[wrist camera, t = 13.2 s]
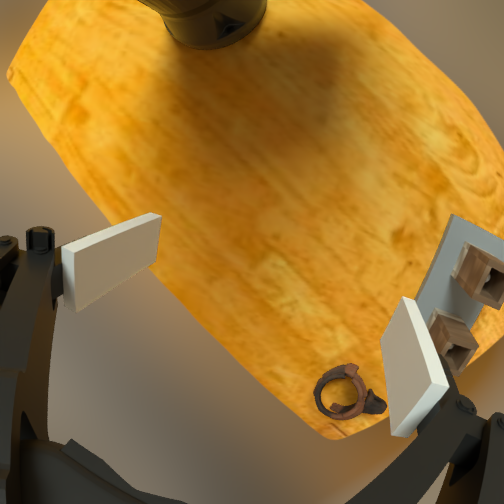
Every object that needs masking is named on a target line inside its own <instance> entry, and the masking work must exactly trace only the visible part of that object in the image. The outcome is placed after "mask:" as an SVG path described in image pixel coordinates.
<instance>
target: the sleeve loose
mask: <svg viewBox="0 0 504 504" xmlns="http://www.w3.org/2000/svg"><path fill="white" fill-rule="evenodd" d="M425 325H426V327H427V329H428V332H429V334H430V337H431V339H432V342H433V344H434V347H435V349H436V352H437V353H439V354H441V355H442V356H443V357H444V358H445V360H446V361H447V362H448V365H449V367H450V371H451V372H452V375H454V376H458V377H459V376H460V374H461V373H462V371H463V370H464V368H465V367H466V365H467V364H468V362H469V361H470V359H471V358H472V356H473V355H474V353H475V352H476V350H477V348H478V347H479V345H478V343H477V342H476V340H475V338H474V337H473V335H472V334H471V332H470V330H469V329H468V327H467V326H466V324H465V323H464V321H463V320H462V318H461V317H460V316H457V315H454V314H452V313H449V312H446V311H444V310H441V309H438V308H436V307H434V309H433V311H432V313H431V315H430V317H429V319H428V321H427V322H426V324H425ZM452 343H453V344H454V346H453V348H451V349H449V348H450V346H451V345H452Z"/></svg>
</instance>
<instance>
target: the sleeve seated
mask: <svg viewBox="0 0 504 504" xmlns="http://www.w3.org/2000/svg"><path fill="white" fill-rule="evenodd" d="M489 273H490V280H489V281H488V282H485V281H486V279H487V277H488V275H489ZM451 275H452V277H453V278H454V279H455V280H456V281H457V282H458V283H459V285H460V286H461V287H462V288H463V289H464V290H465V292H466V293H467V294H468V295H469V296H470V298H471V299H474V300H476V301H478V302H481V303H483V304H485V305H488V306H490V307H492V308H495V309H497V310H500V308H501V306H502V304H503V302H504V263H503V262H502V261H501V260H499V259H498V258H497V257H495V256H494V255H492V254H491V253H489V252H487V251H485V250H483V249H481V248H479V247H477V246H475V245H473V244H471V243H469V242H467V241H465V242H464V244H463V247H462V249H461V252H460V254H459V256H458V259H457V261H456V263H455V266H454V268H453V270H452V272H451Z"/></svg>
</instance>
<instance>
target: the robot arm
mask: <svg viewBox="0 0 504 504" xmlns="http://www.w3.org/2000/svg"><path fill="white" fill-rule="evenodd" d="M138 1H140V2H141V3H143V4H145V5H146V6H148V7H150V8H151V9H153V10H155V11H156V12H158V13H159V14H160V16H161V17H162V19H163V21H164V24H165V26H166V28H167V30H168V32H169V33H170V34H171V35H172V36H173V37H174V38H175V39H176V40H178V41H180V42H181V43H183V44H184V45H186V46H188V47H191V48H195V49H202V50H209V49H217V48H221V47H225V46H228V45H230V44H232V43H235V42H237V41H238V40H240V39H242V38H243V37H245V36H246V35H247V34H248V33H250V32H251V31H252V30H253V29H254V28H255V27H256V25H257V24H258V23H259V21H260V20H261V18H262V16H263V14H264V11H265V8H266V0H138ZM161 220H162V216H160V215H157V214H154V213H151V212H150V213H147V214H144V215H141V216H139V217H136V218H133V219H130V220H128V221H125V222H122V223H120V224H117V225H114V226H112V227H109V228H106V229H104V230H101V231H99V232H96V233H94V234H91V235H88V236H84V237H82V238H79V239H78V240H74V241H72V242H69V243H67V244H65V245H62V246H60V247H57V248H55V241H54V239H55V236H54V234H55V233H54V230H53V229H52V228H49V227H44V226H37V227H33V228H30V229H28V230H27V231H26V246H27V251H24V250H20V249H19V247H18V239H17V238H15V237H12V236H8V235H7V236H2V237H0V504H187V503H185V502H182V501H179V500H174V499H169V498H165V497H161V496H157V495H153V494H149V493H145V492H142V491H139V490H136V489H134V488H133V487H131V486H130V485H129V484H128V483H127V482H126V481H125V480H124V479H122V478H121V477H120V476H119V475H118V474H117V473H116V472H115V471H114V470H113V469H112V468H110V466H109V465H108V464H106V463H105V462H104V461H103V460H102V459H101V458H99V457H98V456H96V455H95V454H93V453H91V452H90V451H88V450H87V449H85V448H84V447H83V446H81V445H79V444H78V443H77V442H75V441H74V440H73V439H70V440H69V442H68V443H67V444H66V445H63V444H60V443H57V442H53V441H49V437H48V429H47V411H48V385H49V370H50V359H51V350H52V341H53V333H54V325H55V319H56V313H57V307H58V302H57V297H59V296H60V295H62V294H63V298H64V306H65V307H67V308H68V309H70V310H72V311H73V312H75V313H77V312H79V311H80V310H82V309H83V308H85V307H86V306H88V305H89V304H91V303H92V302H94V301H95V300H97V299H98V298H100V297H101V296H103V295H104V294H106V293H107V292H109V291H110V290H112V289H114V288H115V287H117V286H118V285H120V284H121V283H123V282H124V281H126V280H128V279H129V278H131V277H132V276H134V275H135V274H137V273H139V272H140V271H142V270H143V269H145V268H146V267H148V266H150V265H151V264H153V263H154V262H156V255H157V247H158V240H159V233H160V226H161ZM380 343H381V350H382V356H383V363H384V371H385V378H386V387H387V395H388V405H389V415H390V427H391V435H394V436H400V437H405V438H408V437H409V436H410V435H411V434H412V432H413V431H414V430H415V429H416V428H417V433H418V436H417V437H416V439H415V440H414V441H413V442H412V443H411V444H410V445H409V446H408V447H407V448H406V449H405V450H404V451H403V452H402V453H401V454H400V455H399V456H398V457H397V458H396V459H395V460H394V461H393V462H392V463H391V464H390V465H389V466H388V467H387V468H386V469H385V470H384V471H383V472H382V473H380V474H379V475H378V476H377V477H376V478H375V479H374V480H373V481H372V482H370V484H368V485H367V486H366V487H365V488H364V489H362V490H361V491H360V492H359V493H358V494H356V495H355V496H354V497H353V498H351V499H350V500H349V501H348V502H346V503H345V504H417V503H418V502H419V500H420V499H421V498H422V497H423V495H424V494H425V493H426V492H427V490H428V489H429V488H430V486H431V485H432V484H433V483H434V481H435V480H436V478H437V477H438V476H439V474H440V473H441V471H442V470H443V469H444V467H445V466H446V464H447V463H448V462H450V464H449V467H448V470H447V473H446V476H445V479H444V482H443V485H442V488H441V491H440V493H439V496H438V499H437V501H436V504H504V414H502V413H499V412H495V413H494V414H493V415H492V416H491V417H490V418H489V419H488V420H486V419H483V418H481V417H479V416H477V415H476V414H477V410H476V407H475V405H474V404H473V402H471V400H470V399H469V398H467V397H465V396H464V395H460V394H459V391H458V388H457V386H456V383H455V380H454V378H453V375H452V372H451V371H450V367H449V365H448V362H447V361H446V360H445V358H444V357H443V356H442V355H441V354H439V353H437V352H436V349H435V347H434V344H433V342H432V339H431V337H430V334H429V332H428V329H427V327H426V325H425V322H424V320H423V318H422V315H421V313H420V311H419V309H418V306H417V304H416V302H415V300H412V299H409V298H406V297H403V296H402V297H401V300H400V302H399V304H398V306H397V308H396V310H395V312H394V314H393V316H392V318H391V320H390V322H389V324H388V326H387V328H386V330H385V332H384V334H383V336H382V337H381V339H380Z"/></svg>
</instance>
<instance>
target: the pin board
mask: <svg viewBox="0 0 504 504" xmlns="http://www.w3.org/2000/svg"><path fill="white" fill-rule="evenodd" d="M465 241H467V242H469V243H471V244H473V245H475V246H477V247H479V248H481V249H483V250H485V251H487V252H489V253H491V254H492V255H494V256H495V257H497V258H498V259H499V260H501V261H502V262H503V263H504V240H502V239H500V238H499V237H497V236H495V235H493V234H491V233H489V232H487V231H486V230H484V229H482V228H480V227H478V226H476V225H474V224H472V223H470V222H468V221H466V220H464V219H462V218H460V217H458V216H456V215H454V214H452V213H451V216H450V219H449V221H448V224H447V227H446V229H445V232H444V234H443V237H442V239H441V242H440V244H439V247H438V249H437V251H436V254H435V256H434V258H433V261H432V263H431V265H430V267H429V270H428V272H427V274H426V276H425V278H424V281H423V283H422V285H421V287H420V289H419V291H418V293H417V295H416V297H415V299H414V300H415V302H416V304H417V306H418V309H419V311H420V313H421V315H422V318H423V320H424V322H425V324H426V322H427V321H428V319H429V317H430V315H431V313H432V311H433V309H434V307H436V308H438V309H441V310H444V311H446V312H449V313H452V314H454V315H457V316H460V317H461V318H462V320H463V321H464V323H465V324H466V326H467V327H468V329H469V330H470V329H471V327H472V326H473V324H474V322H475V320H476V319H477V317H478V315H479V313H480V311H481V309H482V308H483V306H484V304H483V303H481V302H478V301H476V300H474V299H471V298H470V296H469V295H468V294H467V293H466V292H465V290H464V289H463V288H462V287H461V286H460V285H459V283H458V282H457V281H456V280H455V279H454V278H453V277H452V275H451V272H452V270H453V268H454V266H455V263H456V261H457V259H458V256H459V254H460V252H461V249H462V247H463V244H464V242H465ZM489 280H490V273H489V275H488V277H487V279H486V281H485V282H488V281H489ZM453 346H454V344H453V343H452V345H451V346H450V348H449V349H451V348H453Z"/></svg>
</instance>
